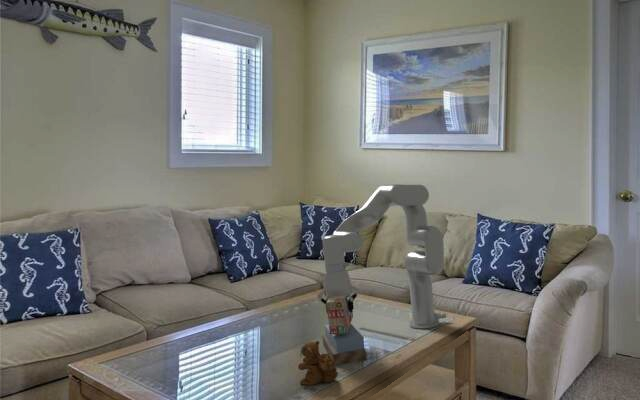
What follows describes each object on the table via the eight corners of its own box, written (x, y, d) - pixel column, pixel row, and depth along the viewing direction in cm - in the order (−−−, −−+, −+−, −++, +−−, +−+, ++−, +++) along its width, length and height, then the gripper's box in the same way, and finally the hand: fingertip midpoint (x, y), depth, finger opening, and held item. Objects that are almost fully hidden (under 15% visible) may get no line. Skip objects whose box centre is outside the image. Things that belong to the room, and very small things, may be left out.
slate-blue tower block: (349, 332, 230) (348, 321, 230) (364, 348, 207) (363, 336, 207) (325, 336, 228) (324, 325, 228) (337, 353, 206) (336, 341, 205)
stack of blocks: (337, 318, 230) (334, 288, 229) (353, 317, 228) (350, 286, 228) (329, 334, 209) (326, 301, 208) (346, 333, 207) (343, 300, 207)
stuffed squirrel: (311, 373, 200) (307, 336, 199) (346, 377, 192) (342, 339, 191) (295, 384, 191) (290, 345, 190) (330, 389, 184) (326, 349, 183)
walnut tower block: (352, 341, 232) (351, 331, 231) (366, 361, 207) (365, 349, 207) (323, 346, 230) (322, 335, 230) (334, 366, 205) (333, 354, 205)
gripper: (355, 263, 222) (360, 307, 223) (311, 269, 219) (316, 314, 220) (359, 266, 214) (364, 312, 215) (314, 272, 211) (319, 319, 213)
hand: (340, 312), depth 218 cm, fingers closed on stack of blocks, 7 cm apart
